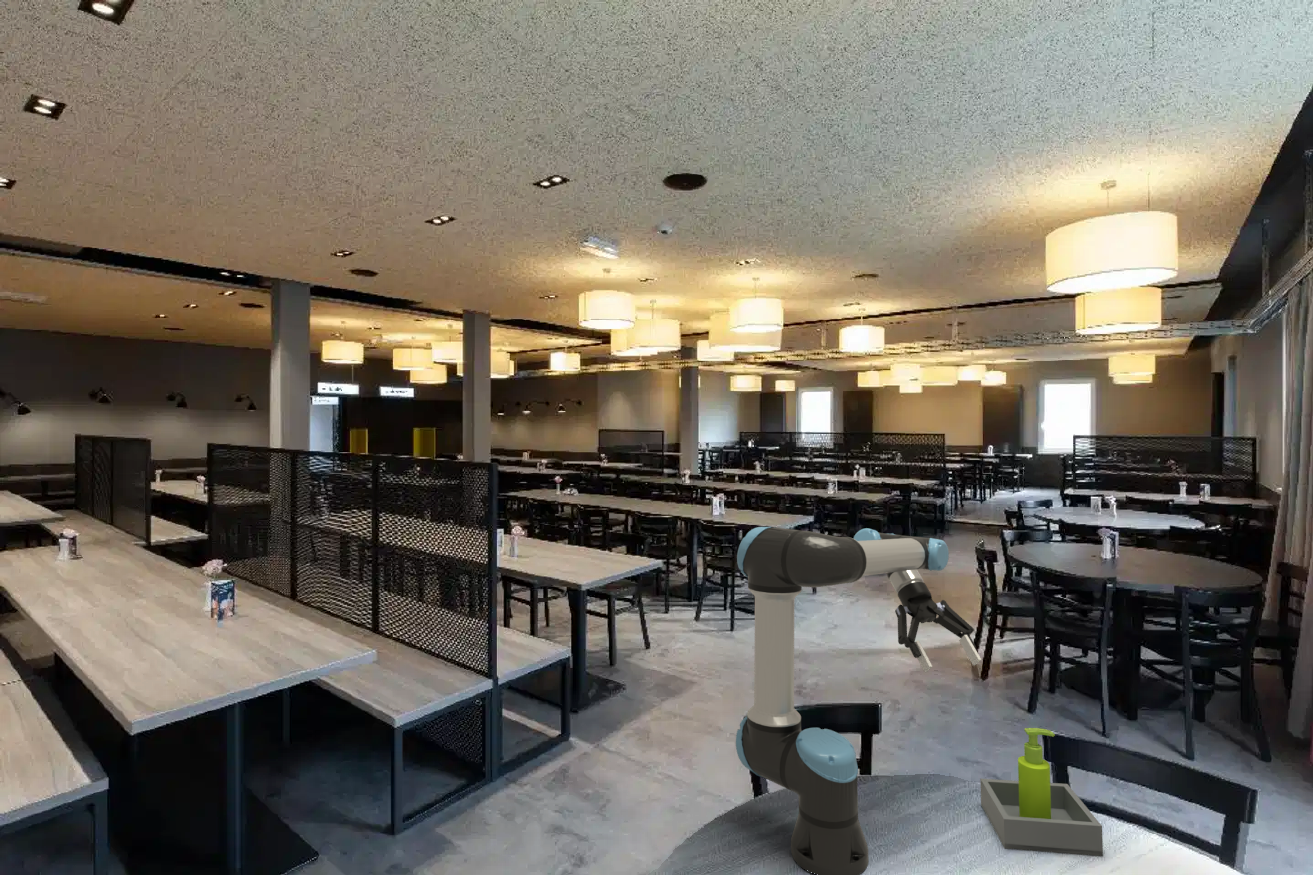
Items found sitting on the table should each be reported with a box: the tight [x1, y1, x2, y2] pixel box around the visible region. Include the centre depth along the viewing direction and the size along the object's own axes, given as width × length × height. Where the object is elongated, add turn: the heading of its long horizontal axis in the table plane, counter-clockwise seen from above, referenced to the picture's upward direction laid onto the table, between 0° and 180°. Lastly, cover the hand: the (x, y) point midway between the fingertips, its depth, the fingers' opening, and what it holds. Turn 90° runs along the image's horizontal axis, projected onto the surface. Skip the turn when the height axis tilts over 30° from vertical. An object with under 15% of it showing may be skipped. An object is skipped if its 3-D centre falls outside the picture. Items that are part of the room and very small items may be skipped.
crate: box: [979, 778, 1104, 857], centre depth 140 cm, size 18×16×6 cm
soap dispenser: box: [1017, 727, 1056, 819], centre depth 140 cm, size 6×7×20 cm
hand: (953, 666), depth 155 cm, fingers open, 13 cm apart
